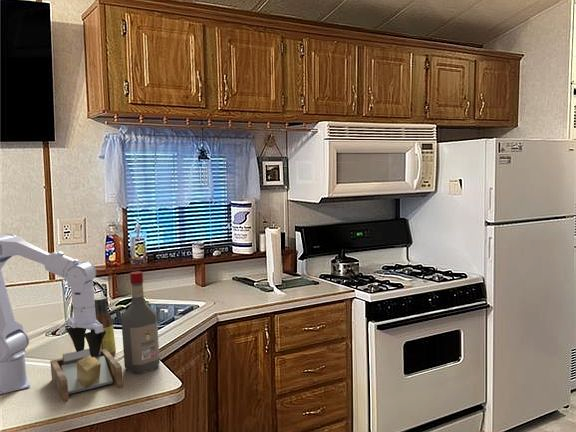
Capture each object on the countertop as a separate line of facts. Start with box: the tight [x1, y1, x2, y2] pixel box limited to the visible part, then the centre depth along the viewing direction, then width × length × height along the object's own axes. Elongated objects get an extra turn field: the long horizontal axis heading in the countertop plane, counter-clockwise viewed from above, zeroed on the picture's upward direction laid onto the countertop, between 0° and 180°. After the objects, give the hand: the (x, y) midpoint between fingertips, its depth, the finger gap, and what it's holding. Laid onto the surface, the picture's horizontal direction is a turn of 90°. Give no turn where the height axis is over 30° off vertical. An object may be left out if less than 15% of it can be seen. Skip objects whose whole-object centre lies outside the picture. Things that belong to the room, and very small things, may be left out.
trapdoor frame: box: [49, 349, 124, 403], centre depth 152 cm, size 18×16×6 cm
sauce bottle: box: [94, 296, 117, 357], centre depth 172 cm, size 7×6×20 cm
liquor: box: [121, 270, 161, 374], centre depth 161 cm, size 9×9×30 cm
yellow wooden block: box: [77, 355, 101, 389], centre depth 147 cm, size 4×4×7 cm
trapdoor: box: [61, 348, 114, 395], centre depth 152 cm, size 14×12×3 cm
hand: (87, 353), depth 147 cm, fingers open, 7 cm apart
